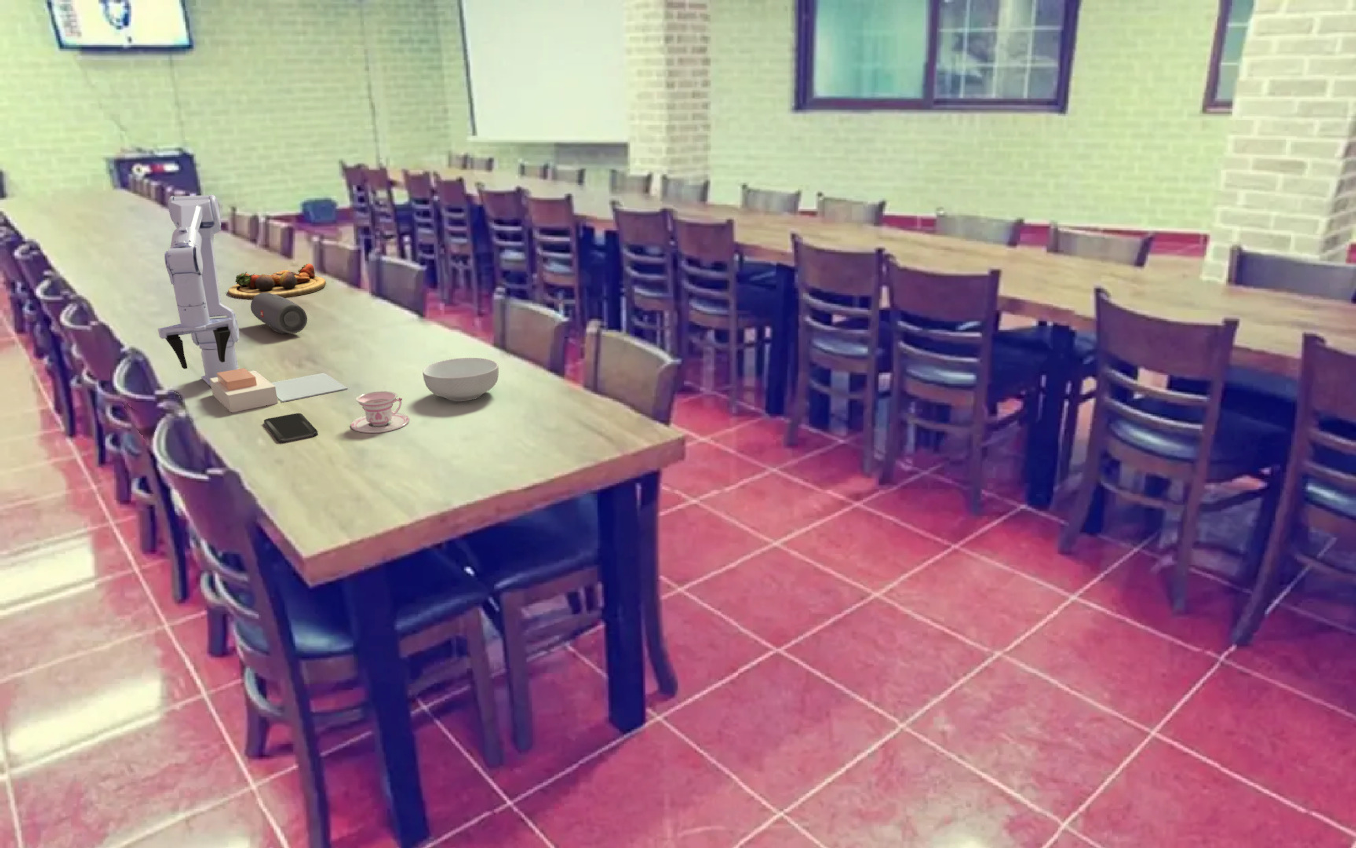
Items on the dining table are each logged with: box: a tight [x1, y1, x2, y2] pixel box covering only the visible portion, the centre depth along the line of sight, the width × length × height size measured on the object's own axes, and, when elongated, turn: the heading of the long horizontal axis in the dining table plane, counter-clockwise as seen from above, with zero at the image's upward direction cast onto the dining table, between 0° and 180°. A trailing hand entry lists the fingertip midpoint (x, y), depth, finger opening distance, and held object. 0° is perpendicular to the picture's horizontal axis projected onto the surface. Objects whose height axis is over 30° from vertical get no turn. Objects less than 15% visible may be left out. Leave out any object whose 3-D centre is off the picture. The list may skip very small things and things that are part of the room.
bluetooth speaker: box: [250, 293, 308, 335], centre depth 272 cm, size 23×9×10 cm, turn 42°
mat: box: [271, 372, 349, 403], centre depth 222 cm, size 16×15×1 cm
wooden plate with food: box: [227, 263, 327, 300], centre depth 326 cm, size 32×32×8 cm
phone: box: [263, 412, 319, 444], centre depth 196 cm, size 8×1×15 cm
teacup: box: [350, 390, 410, 434], centre depth 198 cm, size 12×12×6 cm
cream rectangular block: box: [210, 370, 279, 413], centre depth 214 cm, size 16×10×4 cm, turn 38°
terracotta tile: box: [217, 367, 257, 391], centre depth 212 cm, size 9×6×2 cm, turn 39°
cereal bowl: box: [422, 357, 499, 402], centre depth 214 cm, size 17×17×7 cm
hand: (203, 364), depth 205 cm, fingers open, 7 cm apart
